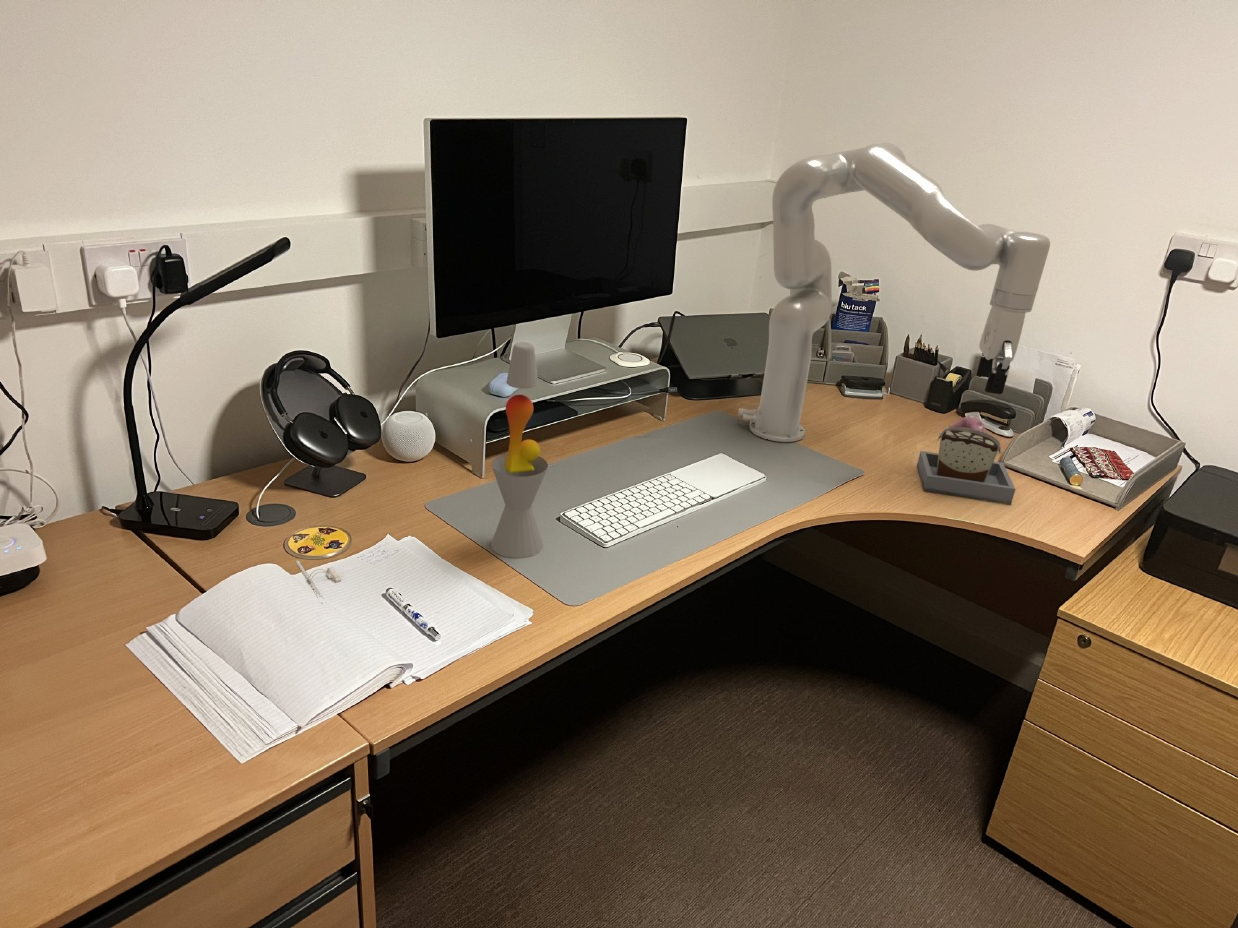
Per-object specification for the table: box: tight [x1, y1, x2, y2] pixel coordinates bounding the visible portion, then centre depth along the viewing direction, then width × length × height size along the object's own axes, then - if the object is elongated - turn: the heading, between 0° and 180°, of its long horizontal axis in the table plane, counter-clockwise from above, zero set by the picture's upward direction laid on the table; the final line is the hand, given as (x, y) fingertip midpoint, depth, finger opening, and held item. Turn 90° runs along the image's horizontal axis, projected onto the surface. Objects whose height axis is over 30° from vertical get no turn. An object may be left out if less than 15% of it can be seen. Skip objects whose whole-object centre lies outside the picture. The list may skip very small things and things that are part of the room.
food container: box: [936, 427, 1002, 483], centre depth 183 cm, size 12×6×10 cm, turn 67°
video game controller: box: [947, 415, 988, 434], centre depth 204 cm, size 10×5×7 cm, turn 0°
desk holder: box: [916, 450, 1016, 505], centre depth 182 cm, size 17×13×4 cm
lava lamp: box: [490, 341, 549, 559], centre depth 140 cm, size 9×9×35 cm
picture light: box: [295, 560, 342, 597], centre depth 134 cm, size 14×4×2 cm, turn 35°
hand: (988, 384), depth 174 cm, fingers open, 9 cm apart
